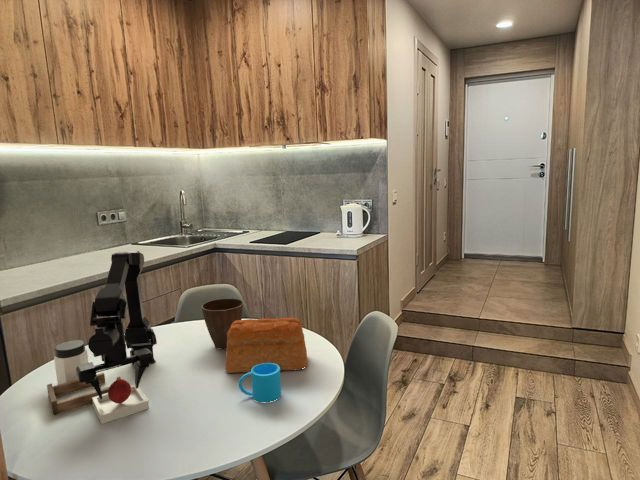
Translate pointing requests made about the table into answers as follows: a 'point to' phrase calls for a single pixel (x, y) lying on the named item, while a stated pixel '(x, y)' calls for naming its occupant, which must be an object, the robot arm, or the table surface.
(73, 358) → the jar
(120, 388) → the onion
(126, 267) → the robot arm
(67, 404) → the bay
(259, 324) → the bread
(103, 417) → the tray
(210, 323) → the plant pot
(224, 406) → the table surface
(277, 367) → the mug
